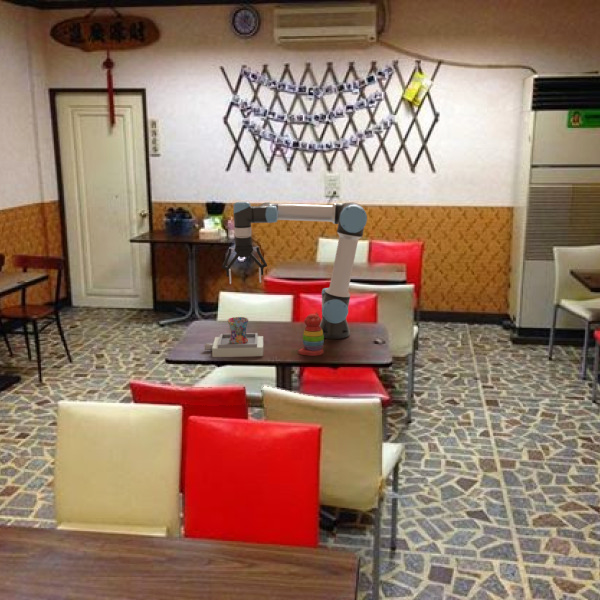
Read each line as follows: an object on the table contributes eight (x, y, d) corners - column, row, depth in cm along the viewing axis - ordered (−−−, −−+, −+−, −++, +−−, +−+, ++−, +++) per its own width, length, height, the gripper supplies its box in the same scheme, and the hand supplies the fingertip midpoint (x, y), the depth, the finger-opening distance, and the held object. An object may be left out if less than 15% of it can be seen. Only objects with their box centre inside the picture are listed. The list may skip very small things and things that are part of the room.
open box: (263, 344, 309) (263, 333, 307) (263, 356, 292) (262, 344, 291) (206, 345, 308) (206, 334, 306) (203, 357, 291) (202, 345, 290)
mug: (244, 346, 292) (244, 323, 290) (225, 344, 295) (224, 321, 292) (254, 338, 303) (253, 316, 301) (234, 337, 306) (234, 314, 303)
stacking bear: (311, 347, 304) (311, 309, 299) (329, 351, 297) (329, 313, 293) (296, 353, 296) (295, 314, 291) (314, 357, 289) (314, 318, 285)
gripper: (270, 234, 304) (272, 279, 309) (215, 236, 302) (218, 282, 307) (271, 236, 297) (273, 283, 302) (215, 238, 295) (217, 285, 300)
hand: (245, 282), depth 305 cm, fingers open, 13 cm apart
